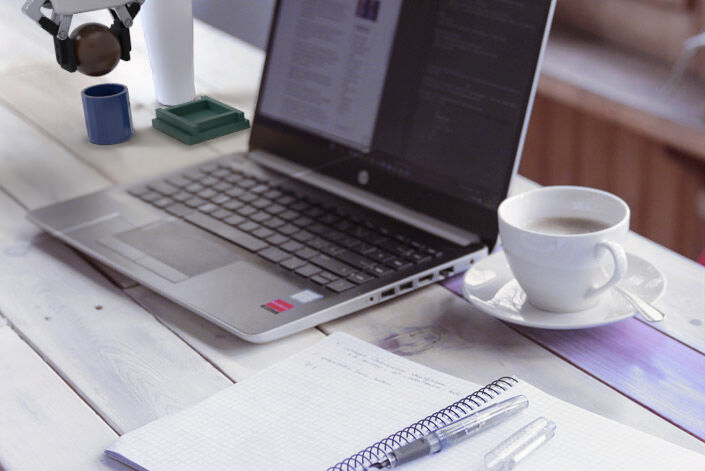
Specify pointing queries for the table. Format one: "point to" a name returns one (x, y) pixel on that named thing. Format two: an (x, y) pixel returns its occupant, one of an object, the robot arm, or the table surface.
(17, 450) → the table surface
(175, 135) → the tray
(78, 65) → the ball
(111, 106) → the cup
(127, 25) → the robot arm
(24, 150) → the table surface
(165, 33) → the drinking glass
